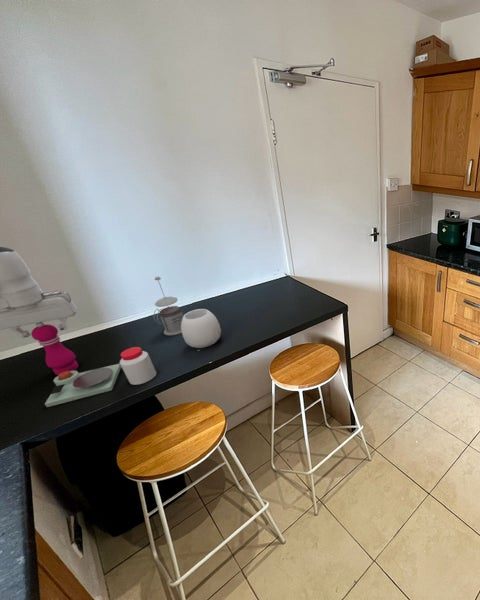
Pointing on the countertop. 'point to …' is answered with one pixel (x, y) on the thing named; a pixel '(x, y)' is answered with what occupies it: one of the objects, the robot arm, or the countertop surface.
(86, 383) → the scale top
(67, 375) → the button
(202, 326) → the white round vase
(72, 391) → the scale
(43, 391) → the countertop surface
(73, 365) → the pepper mill
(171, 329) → the french press
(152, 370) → the pill bottle
